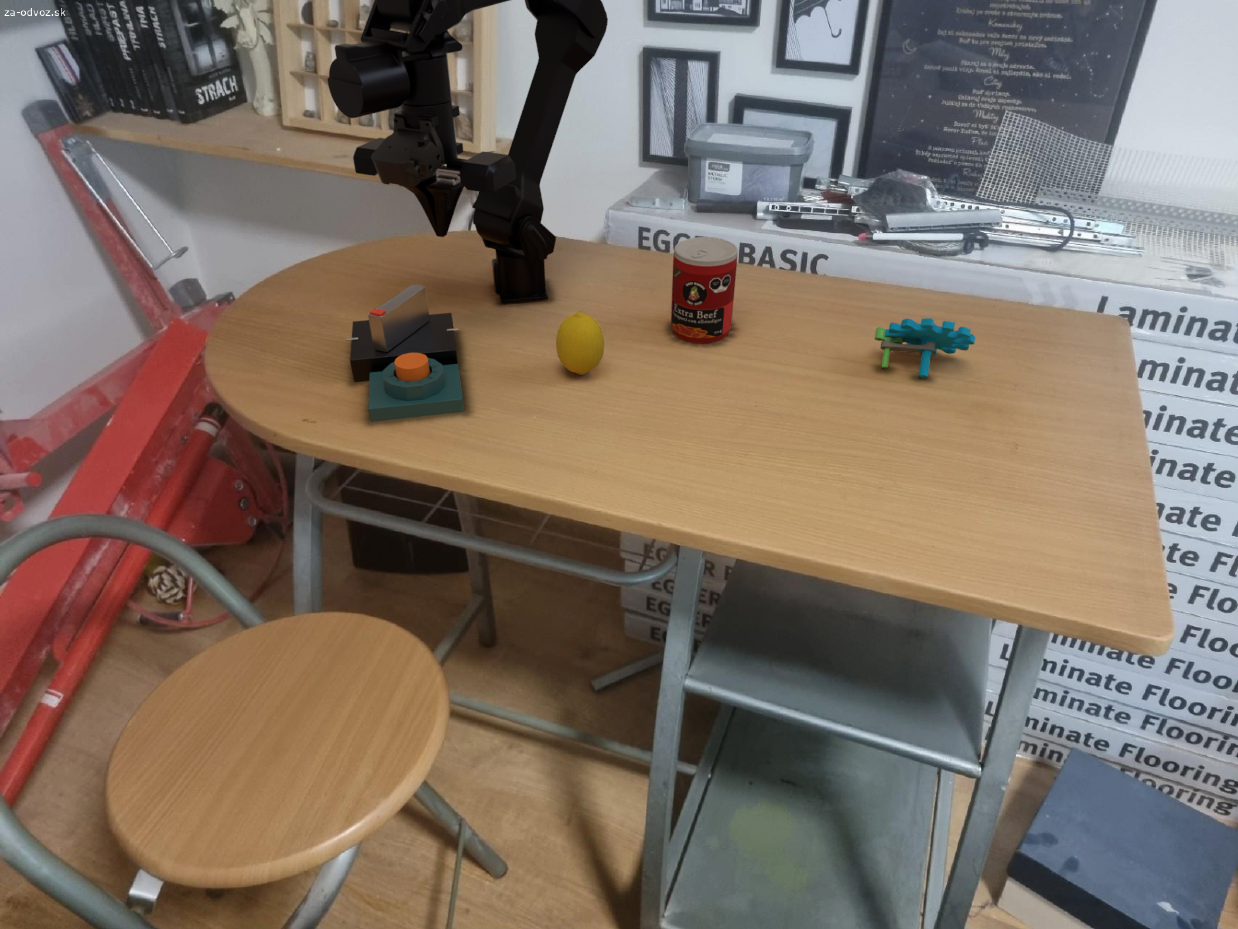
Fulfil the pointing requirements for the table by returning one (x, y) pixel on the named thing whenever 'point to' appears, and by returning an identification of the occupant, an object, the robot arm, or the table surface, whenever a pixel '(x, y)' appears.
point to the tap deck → (402, 346)
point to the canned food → (703, 289)
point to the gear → (923, 340)
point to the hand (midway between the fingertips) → (441, 235)
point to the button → (412, 367)
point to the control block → (415, 393)
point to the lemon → (580, 343)
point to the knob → (399, 318)
